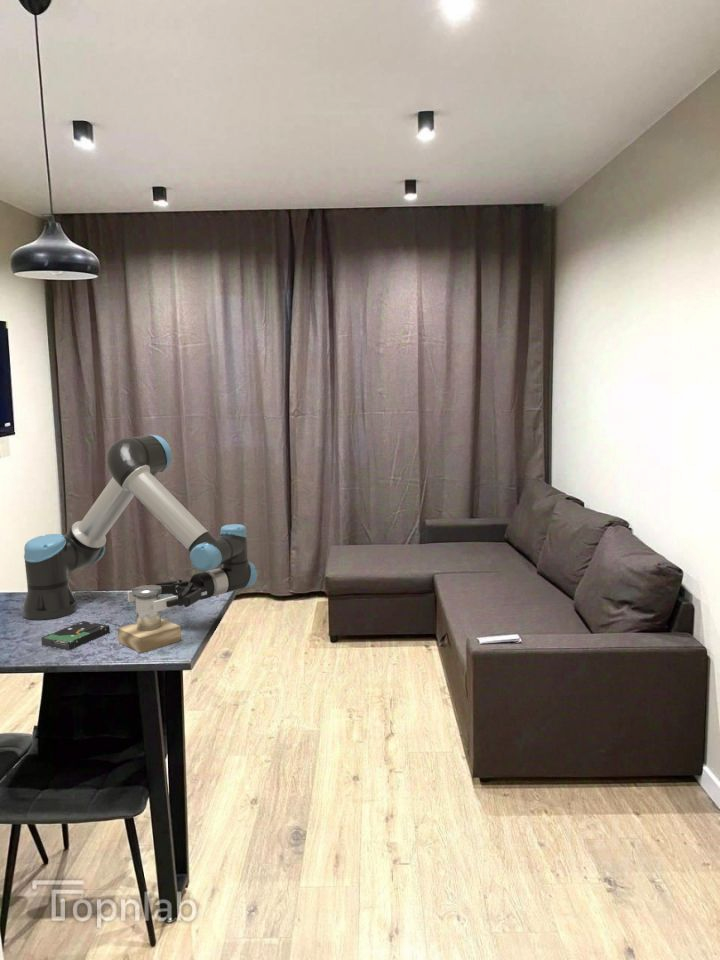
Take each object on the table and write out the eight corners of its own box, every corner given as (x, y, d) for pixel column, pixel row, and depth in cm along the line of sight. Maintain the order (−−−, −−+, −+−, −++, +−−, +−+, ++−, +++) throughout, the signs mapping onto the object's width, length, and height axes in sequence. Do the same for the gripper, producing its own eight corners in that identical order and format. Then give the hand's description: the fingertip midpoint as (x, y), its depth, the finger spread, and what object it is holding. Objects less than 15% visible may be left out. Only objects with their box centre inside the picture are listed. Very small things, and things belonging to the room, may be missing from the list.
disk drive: (83, 630, 206) (41, 647, 193) (82, 620, 206) (40, 637, 192) (110, 634, 202) (69, 652, 188) (110, 625, 201) (68, 642, 188)
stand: (118, 642, 194) (117, 627, 193) (158, 630, 202) (157, 616, 202) (141, 653, 185) (140, 638, 185) (181, 640, 194) (180, 626, 193)
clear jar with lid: (129, 627, 193) (126, 589, 192) (154, 620, 199) (151, 583, 197) (144, 633, 188) (141, 594, 187) (169, 626, 194) (166, 588, 192)
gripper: (234, 605, 198) (166, 625, 183) (185, 589, 215) (119, 605, 200) (233, 579, 197) (164, 596, 182) (183, 564, 214) (117, 579, 199)
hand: (140, 601), depth 191 cm, fingers open, 13 cm apart
